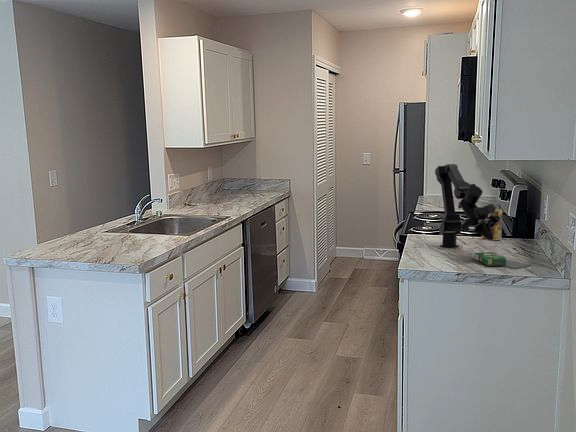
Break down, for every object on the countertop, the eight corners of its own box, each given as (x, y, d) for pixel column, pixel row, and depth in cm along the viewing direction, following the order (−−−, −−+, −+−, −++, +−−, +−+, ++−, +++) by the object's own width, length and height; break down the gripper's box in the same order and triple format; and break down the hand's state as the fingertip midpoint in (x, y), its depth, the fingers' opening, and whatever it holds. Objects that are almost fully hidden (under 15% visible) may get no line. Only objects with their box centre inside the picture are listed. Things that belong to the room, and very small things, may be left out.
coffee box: (473, 259, 225) (486, 266, 212) (473, 252, 225) (487, 259, 212) (492, 258, 226) (506, 265, 213) (492, 251, 225) (507, 258, 212)
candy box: (501, 240, 268) (503, 209, 266) (497, 241, 265) (498, 210, 263) (485, 237, 275) (486, 208, 273) (480, 238, 272) (481, 209, 270)
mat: (485, 262, 220) (485, 261, 220) (501, 259, 225) (501, 258, 225) (515, 269, 208) (515, 268, 208) (531, 265, 213) (531, 264, 213)
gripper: (467, 199, 220) (489, 229, 212) (497, 196, 229) (519, 225, 222) (452, 216, 228) (472, 246, 220) (481, 212, 237) (502, 241, 229)
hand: (492, 239), depth 222 cm, fingers closed
